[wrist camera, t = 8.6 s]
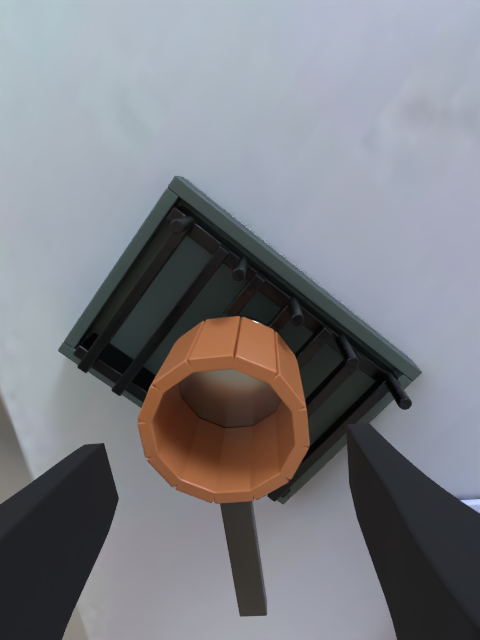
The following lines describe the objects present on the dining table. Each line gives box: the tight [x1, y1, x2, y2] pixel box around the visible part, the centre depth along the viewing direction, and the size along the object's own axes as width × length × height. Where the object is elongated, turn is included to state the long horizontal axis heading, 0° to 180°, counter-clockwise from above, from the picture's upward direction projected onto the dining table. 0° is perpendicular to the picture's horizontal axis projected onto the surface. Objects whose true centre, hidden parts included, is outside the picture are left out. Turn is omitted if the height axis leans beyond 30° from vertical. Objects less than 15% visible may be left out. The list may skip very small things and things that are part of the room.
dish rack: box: [58, 176, 422, 504], centre depth 18 cm, size 14×10×5 cm
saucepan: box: [137, 314, 310, 616], centre depth 16 cm, size 11×6×4 cm, turn 7°
